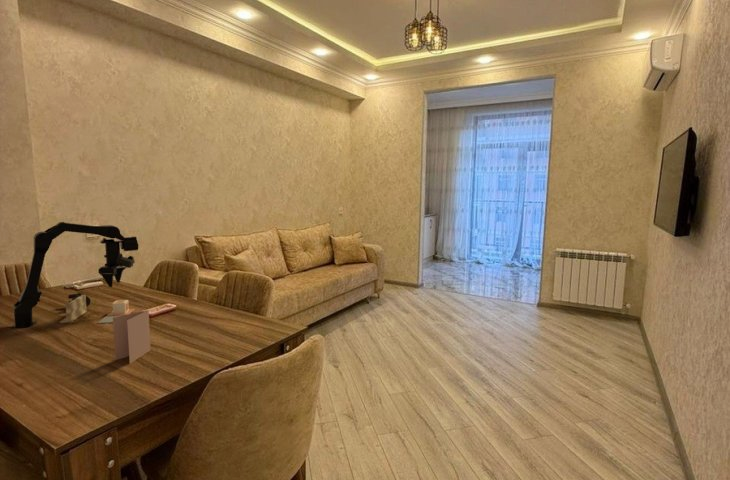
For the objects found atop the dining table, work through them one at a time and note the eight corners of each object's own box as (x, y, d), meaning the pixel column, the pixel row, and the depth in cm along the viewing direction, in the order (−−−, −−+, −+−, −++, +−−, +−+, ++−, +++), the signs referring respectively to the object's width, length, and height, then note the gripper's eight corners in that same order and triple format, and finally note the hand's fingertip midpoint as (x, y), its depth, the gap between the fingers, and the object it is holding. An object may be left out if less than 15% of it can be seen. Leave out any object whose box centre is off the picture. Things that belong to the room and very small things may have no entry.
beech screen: (70, 322, 171) (69, 304, 170) (59, 323, 170) (58, 304, 169) (86, 311, 187) (85, 294, 186) (76, 311, 186) (75, 295, 185)
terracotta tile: (128, 315, 182) (128, 314, 182) (106, 316, 180) (106, 315, 180) (135, 309, 191) (134, 308, 191) (114, 310, 189) (113, 309, 189)
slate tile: (121, 322, 172) (121, 321, 172) (97, 323, 170) (97, 322, 170) (128, 315, 181) (128, 315, 181) (105, 317, 179) (105, 316, 179)
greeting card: (149, 349, 145) (147, 309, 143) (158, 354, 140) (156, 313, 138) (114, 359, 136) (111, 317, 134) (122, 365, 131) (120, 321, 129)
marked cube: (125, 313, 184) (125, 302, 183) (113, 314, 182) (112, 303, 182) (129, 310, 188) (128, 299, 188) (117, 310, 187) (116, 300, 186)
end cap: (91, 308, 192) (90, 294, 191) (73, 311, 187) (72, 297, 186) (86, 304, 198) (85, 290, 198) (68, 306, 193) (67, 293, 193)
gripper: (124, 255, 179) (126, 288, 181) (138, 249, 197) (139, 279, 199) (96, 255, 176) (99, 289, 178) (113, 249, 195) (115, 280, 196)
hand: (114, 284), depth 188 cm, fingers open, 9 cm apart
